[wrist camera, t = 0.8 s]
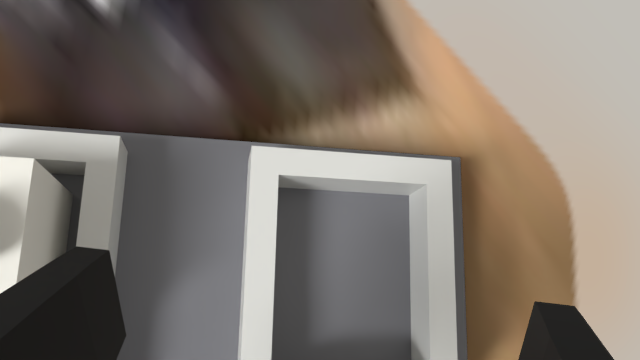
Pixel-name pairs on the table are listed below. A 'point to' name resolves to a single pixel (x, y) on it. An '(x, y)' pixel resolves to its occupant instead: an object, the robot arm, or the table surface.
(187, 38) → the table surface
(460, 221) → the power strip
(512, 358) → the table surface
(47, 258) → the cream plug
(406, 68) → the table surface
